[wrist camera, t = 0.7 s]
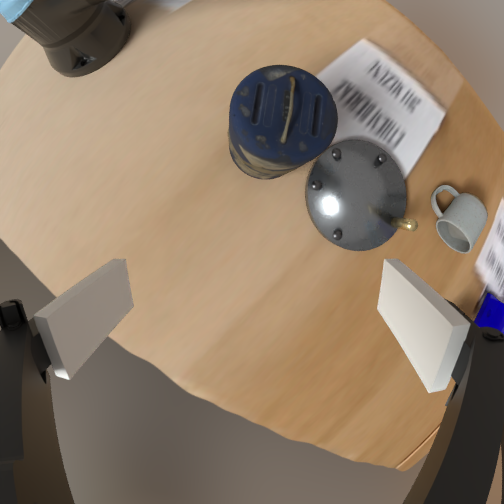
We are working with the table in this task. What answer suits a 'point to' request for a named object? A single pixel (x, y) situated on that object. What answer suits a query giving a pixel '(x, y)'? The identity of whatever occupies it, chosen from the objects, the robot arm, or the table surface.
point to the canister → (279, 121)
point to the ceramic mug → (460, 219)
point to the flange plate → (357, 196)
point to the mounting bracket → (491, 314)
